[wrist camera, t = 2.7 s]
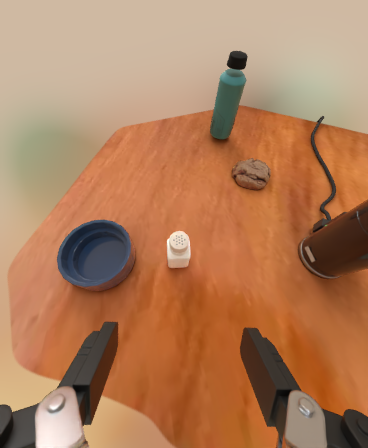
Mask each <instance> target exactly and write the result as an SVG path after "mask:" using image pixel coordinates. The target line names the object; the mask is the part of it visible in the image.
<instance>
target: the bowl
mask: <svg viewBox="0 0 368 448" xmlns="http://www.w3.org/2000/svg"><path fill="white" fill-rule="evenodd" d="M134 262H135V248H134V245H133V242H132V240H131V238H130V236H129V234H128V233H127V232H126V230H125V229H124V228H123V227H122V226H121V225H119V224H117V223H115V222H113V221H108V220H94V221H90V222H87V223H84V224H82V225H80V226H79V227H77V228H75V229H74V230H73V231H72V232H71V233H70V234H69V235H68V236H67V237H66V238H65V239H64V241H63V243H62V244H61V246H60V248H59V252H58V256H57V263H58V269H59V271H60V273H61V274H62V276H63V278H64V279H66V280H67V281H69V282H70V283H71V284H73V285H76V286H78V287H81V288H84V289H88V290H92V291H100V290H107V289H109V288H111V287H114V286H116V285H118V284H119V283H120V282H121V281H123V280H124V279H125V278H126V277H127V275H128V274H129V273H130V271H131V270H132V267H133V264H134Z"/></svg>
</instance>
